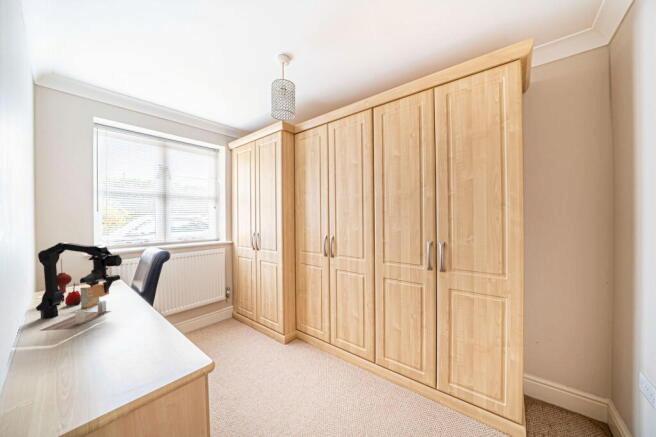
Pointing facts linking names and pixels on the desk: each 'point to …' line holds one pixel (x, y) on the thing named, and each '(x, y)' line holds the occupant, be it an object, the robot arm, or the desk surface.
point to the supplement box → (88, 297)
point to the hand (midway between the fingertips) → (101, 293)
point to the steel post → (101, 306)
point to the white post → (80, 316)
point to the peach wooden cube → (99, 290)
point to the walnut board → (74, 321)
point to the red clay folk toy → (73, 298)
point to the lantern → (63, 280)
